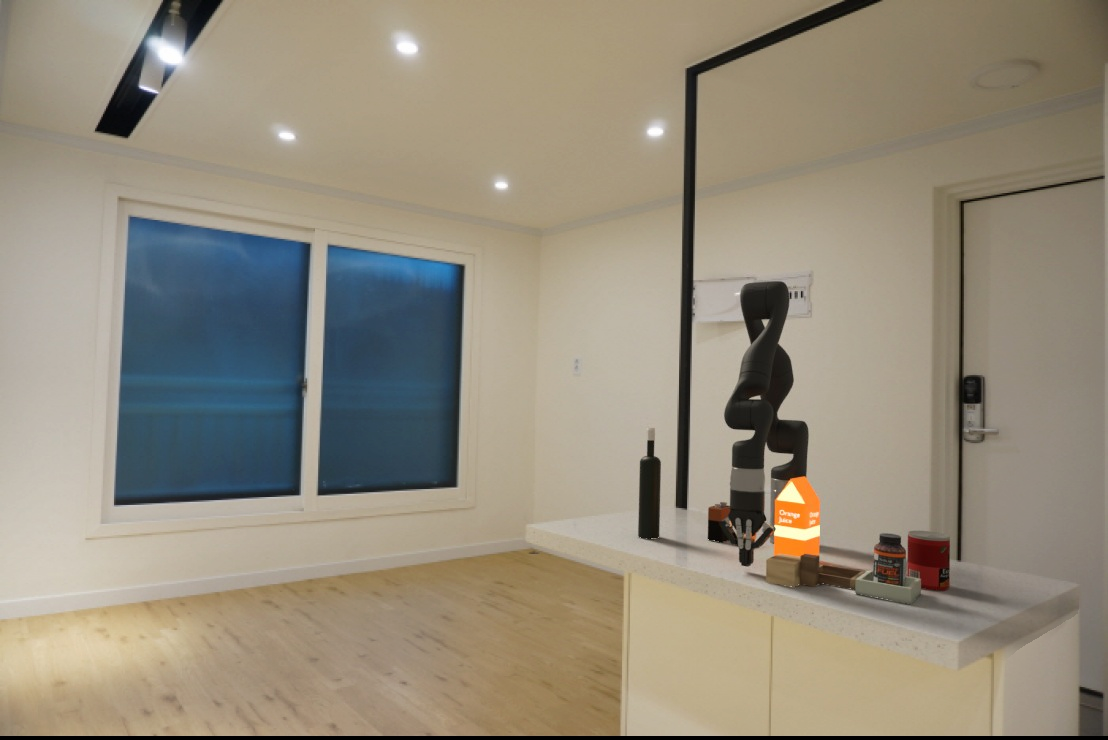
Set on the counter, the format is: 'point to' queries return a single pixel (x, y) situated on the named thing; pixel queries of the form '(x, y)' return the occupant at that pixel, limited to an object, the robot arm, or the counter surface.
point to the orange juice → (797, 519)
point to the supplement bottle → (889, 560)
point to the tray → (888, 588)
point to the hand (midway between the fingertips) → (746, 565)
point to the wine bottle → (649, 491)
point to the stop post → (809, 569)
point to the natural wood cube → (783, 570)
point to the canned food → (929, 559)
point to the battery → (717, 521)
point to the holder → (838, 576)
